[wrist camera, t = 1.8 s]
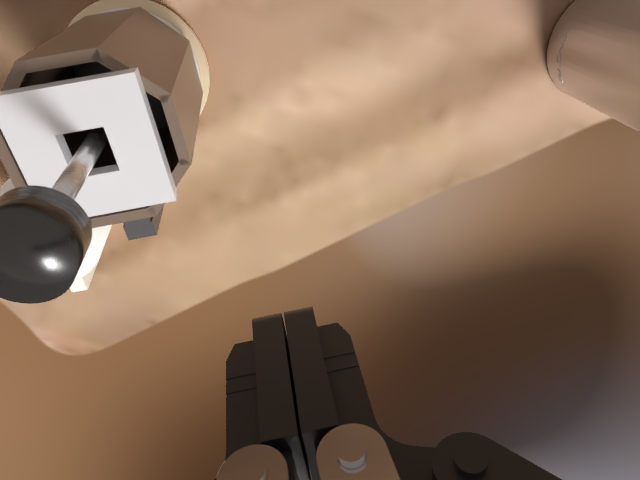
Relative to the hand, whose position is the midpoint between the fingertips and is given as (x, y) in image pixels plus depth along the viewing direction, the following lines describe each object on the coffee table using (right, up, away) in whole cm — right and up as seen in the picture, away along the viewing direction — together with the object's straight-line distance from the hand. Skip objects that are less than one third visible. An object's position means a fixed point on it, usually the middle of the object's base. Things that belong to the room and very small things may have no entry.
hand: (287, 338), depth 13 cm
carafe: (-13, +15, +27) cm, 34 cm away
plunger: (-12, +11, +20) cm, 25 cm away
